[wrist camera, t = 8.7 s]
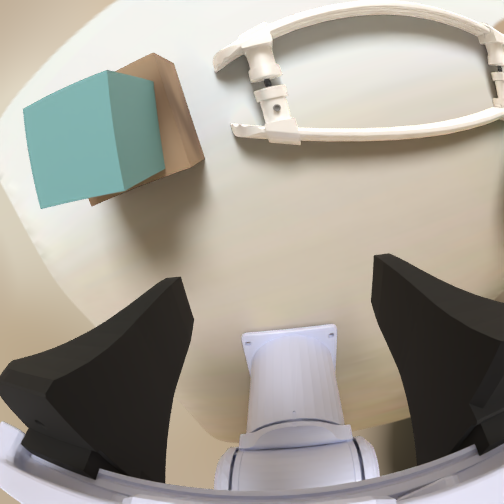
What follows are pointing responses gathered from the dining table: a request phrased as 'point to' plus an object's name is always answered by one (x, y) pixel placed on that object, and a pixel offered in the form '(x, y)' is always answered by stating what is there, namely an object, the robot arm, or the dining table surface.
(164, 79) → the walnut block
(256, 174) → the dining table surface
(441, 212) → the dining table surface
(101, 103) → the teal cube
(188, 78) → the dining table surface
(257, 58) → the white curved loop
